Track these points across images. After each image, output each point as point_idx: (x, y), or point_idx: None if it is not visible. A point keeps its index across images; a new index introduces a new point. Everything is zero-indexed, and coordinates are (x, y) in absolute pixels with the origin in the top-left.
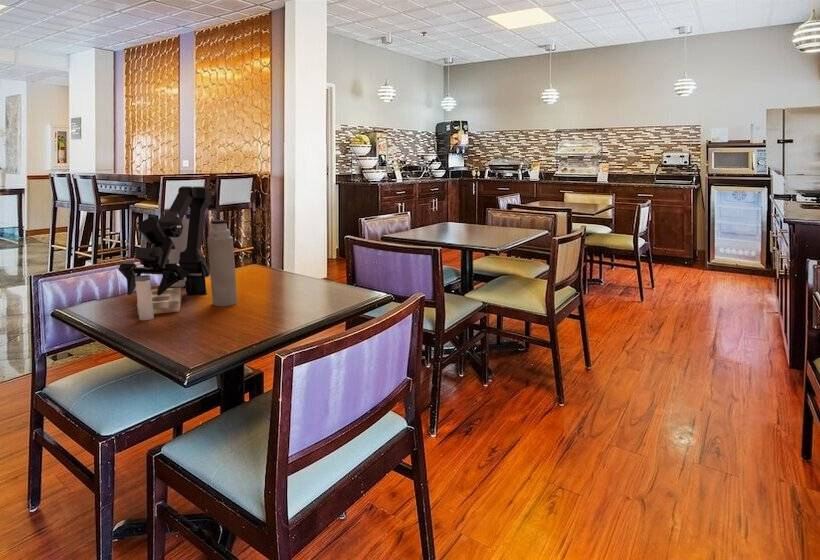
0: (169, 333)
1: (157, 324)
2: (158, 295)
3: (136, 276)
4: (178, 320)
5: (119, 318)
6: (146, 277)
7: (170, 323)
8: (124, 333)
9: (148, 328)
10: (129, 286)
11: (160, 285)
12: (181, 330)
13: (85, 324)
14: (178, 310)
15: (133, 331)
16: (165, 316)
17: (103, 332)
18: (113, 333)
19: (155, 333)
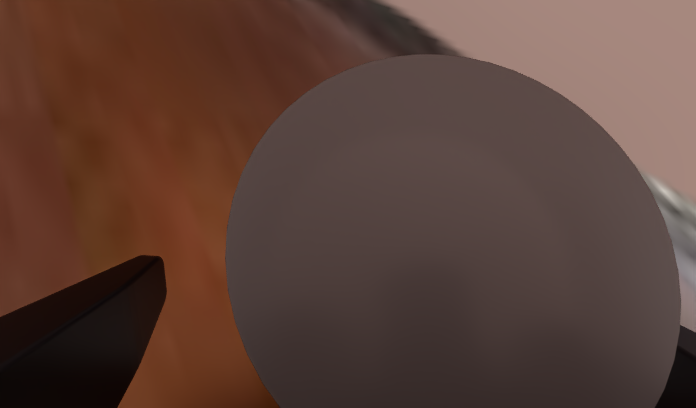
0: (67, 20)
1: (202, 183)
2: (161, 288)
3: (675, 274)
4: (71, 281)
5: None
6: (269, 138)
7: (115, 205)
8: (325, 30)
9: (228, 105)
10: (680, 340)
11: (45, 320)
12: (4, 64)
13: (670, 189)
14: None
15: (293, 58)
16: (218, 404)
17: (449, 49)
18: (385, 32)
19: (150, 23)
